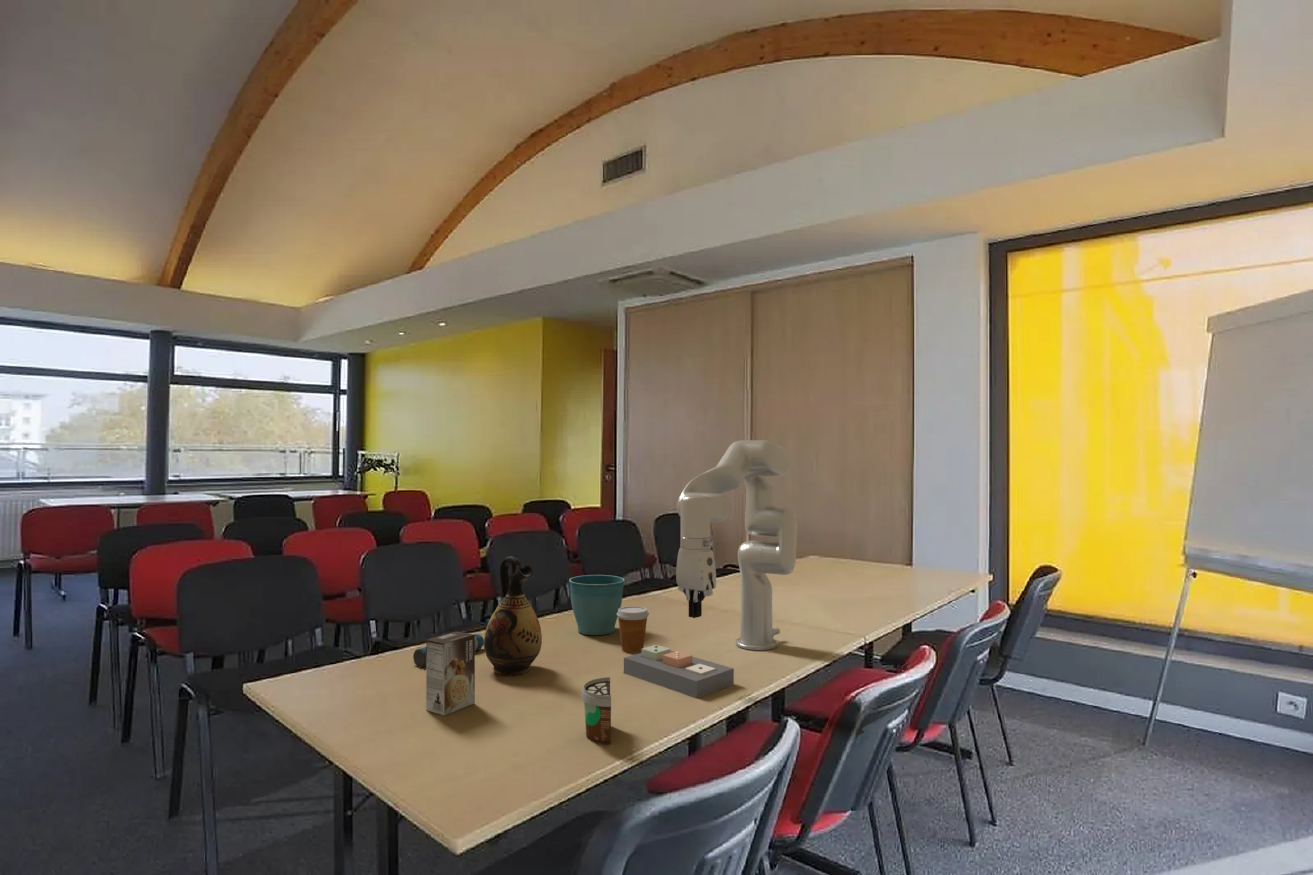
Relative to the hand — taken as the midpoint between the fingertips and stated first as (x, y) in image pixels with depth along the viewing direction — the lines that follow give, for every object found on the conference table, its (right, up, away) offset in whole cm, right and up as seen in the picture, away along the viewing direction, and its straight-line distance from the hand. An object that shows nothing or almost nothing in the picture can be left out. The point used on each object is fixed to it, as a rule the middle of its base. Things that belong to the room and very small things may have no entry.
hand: (695, 616), depth 174 cm
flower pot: (-29, -18, +51) cm, 61 cm away
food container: (-22, -16, -32) cm, 42 cm away
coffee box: (-57, -17, -17) cm, 62 cm away
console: (-4, -17, +4) cm, 18 cm away
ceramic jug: (-49, -17, +11) cm, 53 cm away
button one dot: (+1, -16, -2) cm, 16 cm away
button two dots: (-10, -15, +10) cm, 20 cm away
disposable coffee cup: (-17, -18, +29) cm, 38 cm away
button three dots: (-4, -15, +4) cm, 16 cm away
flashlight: (-68, -18, +22) cm, 74 cm away
